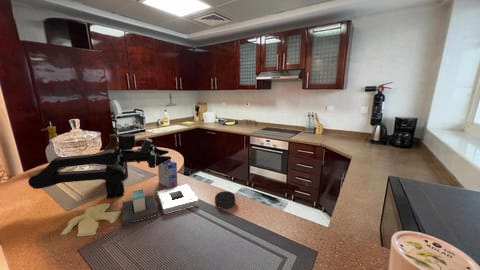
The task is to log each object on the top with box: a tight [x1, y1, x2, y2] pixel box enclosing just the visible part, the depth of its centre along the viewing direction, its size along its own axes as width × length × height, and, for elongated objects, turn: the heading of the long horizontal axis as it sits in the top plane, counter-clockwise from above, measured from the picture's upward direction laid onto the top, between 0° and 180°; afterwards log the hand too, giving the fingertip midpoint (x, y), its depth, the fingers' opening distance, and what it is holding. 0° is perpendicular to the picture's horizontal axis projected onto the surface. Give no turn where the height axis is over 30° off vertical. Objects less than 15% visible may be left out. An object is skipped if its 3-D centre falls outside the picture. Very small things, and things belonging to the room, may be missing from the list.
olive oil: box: [103, 133, 129, 181], centre depth 108 cm, size 11×11×25 cm
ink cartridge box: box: [157, 158, 178, 188], centre depth 104 cm, size 10×6×14 cm, turn 53°
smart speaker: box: [214, 191, 236, 209], centre depth 87 cm, size 9×9×4 cm
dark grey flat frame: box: [121, 195, 159, 226], centre depth 81 cm, size 12×14×2 cm
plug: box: [131, 188, 147, 213], centre depth 80 cm, size 4×6×8 cm, turn 30°
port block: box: [156, 184, 199, 215], centre depth 88 cm, size 14×16×3 cm
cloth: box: [60, 202, 122, 237], centre depth 74 cm, size 22×19×6 cm
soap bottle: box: [40, 126, 65, 170], centre depth 122 cm, size 14×9×26 cm, turn 67°
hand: (169, 154), depth 101 cm, fingers open, 9 cm apart
